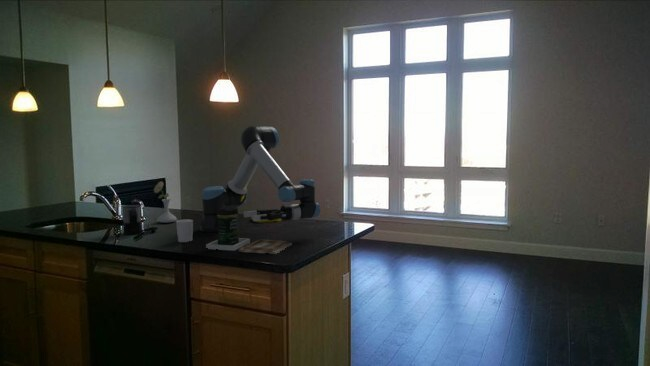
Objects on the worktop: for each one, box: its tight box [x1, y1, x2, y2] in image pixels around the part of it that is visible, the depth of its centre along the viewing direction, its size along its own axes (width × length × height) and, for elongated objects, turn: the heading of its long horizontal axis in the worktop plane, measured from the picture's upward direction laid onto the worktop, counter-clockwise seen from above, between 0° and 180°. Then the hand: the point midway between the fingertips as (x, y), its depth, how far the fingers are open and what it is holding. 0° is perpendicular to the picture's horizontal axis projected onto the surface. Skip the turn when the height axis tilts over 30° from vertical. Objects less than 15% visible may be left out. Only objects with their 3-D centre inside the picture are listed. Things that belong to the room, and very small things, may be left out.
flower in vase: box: [153, 180, 178, 224], centre depth 283 cm, size 13×11×25 cm
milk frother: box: [121, 204, 159, 236], centre depth 253 cm, size 14×16×15 cm
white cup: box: [175, 218, 194, 243], centre depth 233 cm, size 8×8×10 cm
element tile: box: [251, 217, 282, 224], centre depth 289 cm, size 15×15×5 cm
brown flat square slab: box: [238, 239, 293, 255], centre depth 216 cm, size 18×18×2 cm
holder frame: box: [205, 237, 251, 251], centre depth 221 cm, size 14×16×2 cm
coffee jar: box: [217, 206, 240, 246], centre depth 221 cm, size 10×8×19 cm
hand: (248, 216), depth 225 cm, fingers open, 13 cm apart
